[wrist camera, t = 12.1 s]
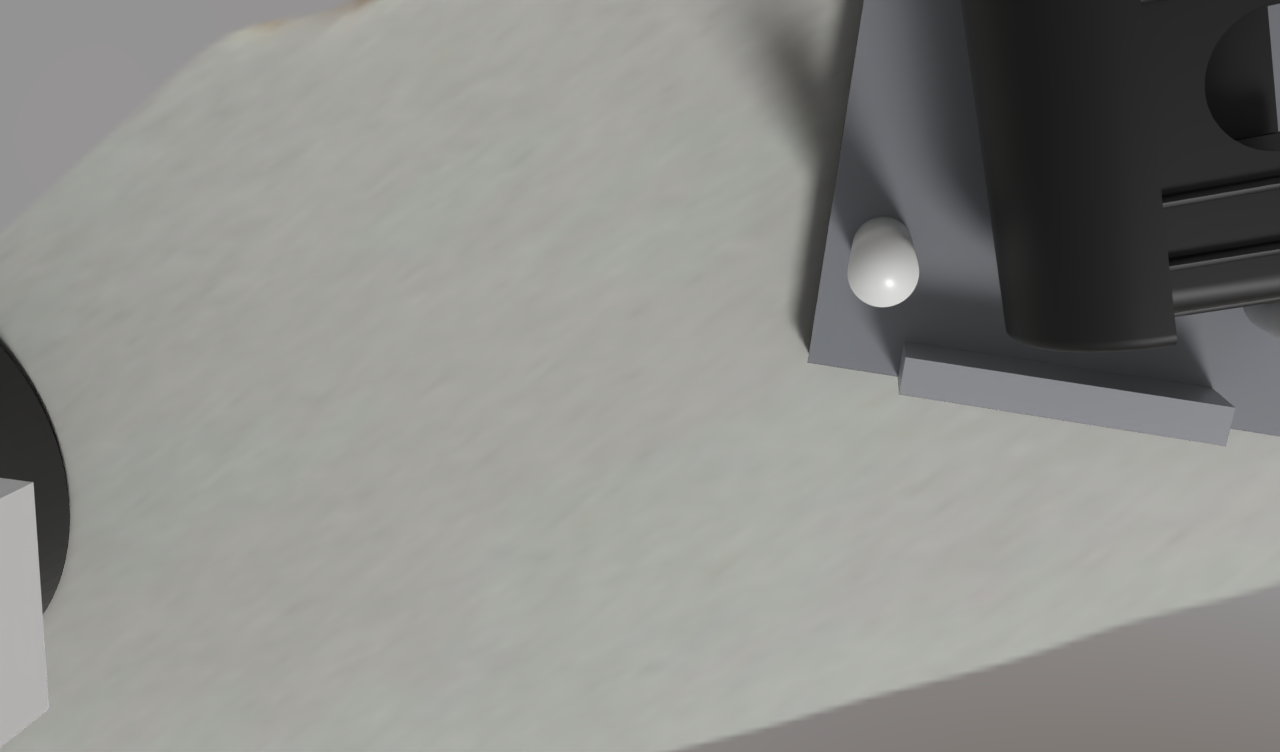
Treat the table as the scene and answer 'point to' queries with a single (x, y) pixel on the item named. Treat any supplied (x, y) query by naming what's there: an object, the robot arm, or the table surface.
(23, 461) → the robot arm
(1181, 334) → the tray
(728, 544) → the table surface
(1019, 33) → the end cap
